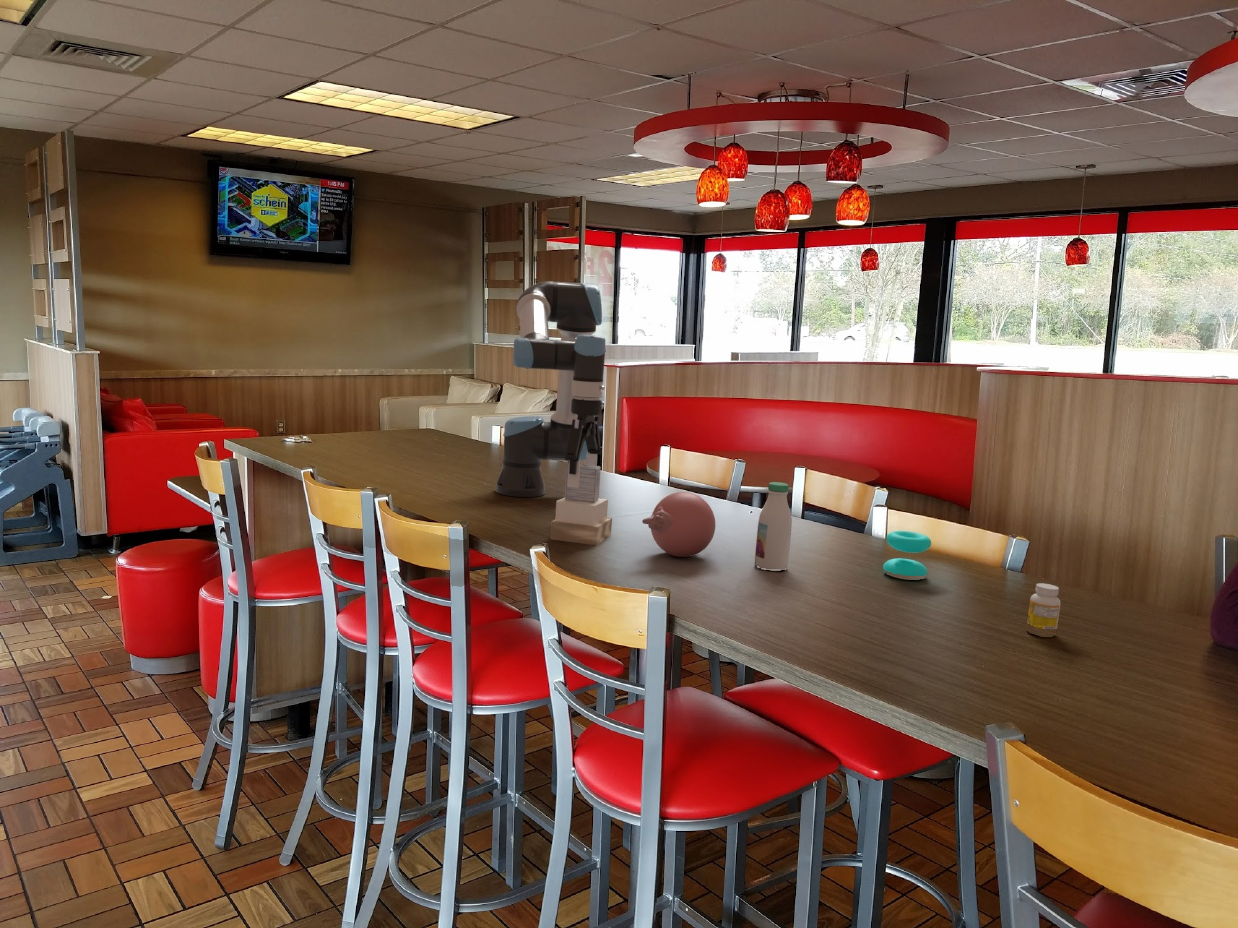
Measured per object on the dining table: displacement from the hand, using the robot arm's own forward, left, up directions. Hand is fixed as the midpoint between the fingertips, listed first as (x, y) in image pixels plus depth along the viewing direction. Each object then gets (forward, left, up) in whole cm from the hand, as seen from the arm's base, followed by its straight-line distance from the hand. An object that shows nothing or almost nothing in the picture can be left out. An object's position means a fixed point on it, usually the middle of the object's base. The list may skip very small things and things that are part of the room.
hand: (581, 483), depth 230 cm
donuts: (-4, +79, -14) cm, 80 cm away
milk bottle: (+5, +49, -14) cm, 51 cm away
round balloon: (+7, +26, -14) cm, 30 cm away
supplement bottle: (+27, +104, -14) cm, 108 cm away
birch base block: (0, +1, -14) cm, 14 cm away
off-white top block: (0, 0, -9) cm, 9 cm away
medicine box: (0, 0, -4) cm, 5 cm away
